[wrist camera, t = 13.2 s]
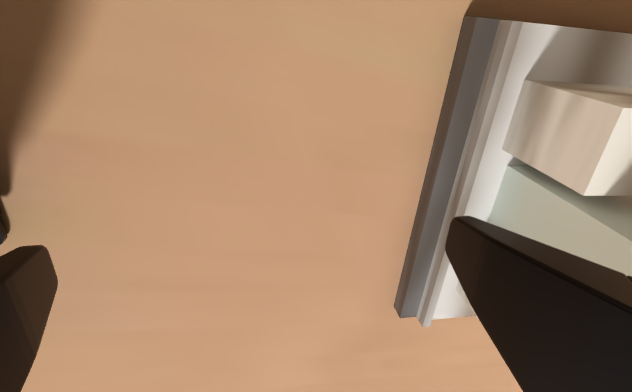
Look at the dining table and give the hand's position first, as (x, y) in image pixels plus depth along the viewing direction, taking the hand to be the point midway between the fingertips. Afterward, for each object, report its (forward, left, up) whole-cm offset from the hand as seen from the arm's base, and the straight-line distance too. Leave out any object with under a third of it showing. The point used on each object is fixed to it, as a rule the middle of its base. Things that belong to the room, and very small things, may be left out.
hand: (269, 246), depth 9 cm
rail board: (+18, -6, -13) cm, 23 cm away
